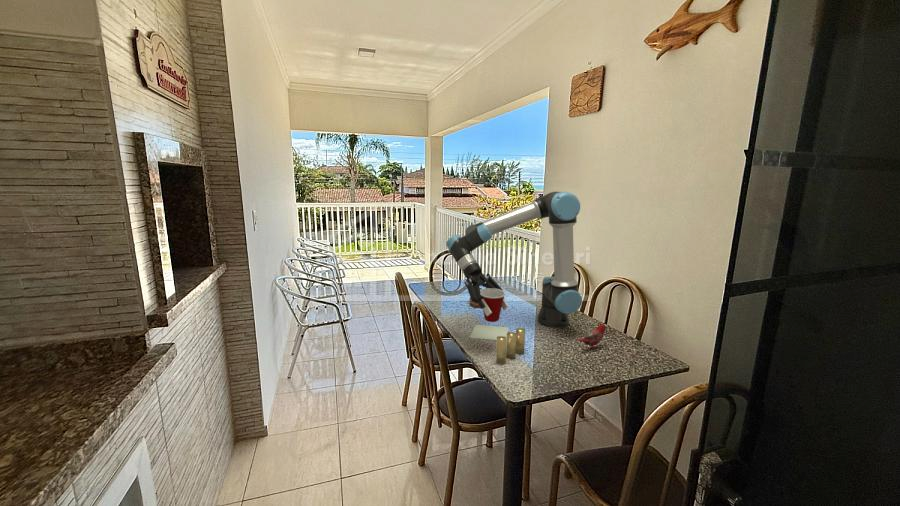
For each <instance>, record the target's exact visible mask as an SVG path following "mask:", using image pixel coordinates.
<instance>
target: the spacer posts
mask: <svg viewBox="0 0 900 506" xmlns="http://www.w3.org/2000/svg"><path fill="white" fill-rule="evenodd" d="M525 340H526V329H525V328H523V327H518V328H517V327H516V329H515V332H514V331H508V333H507V338H506V337H504V336H498V337H497V341H496V364H498V365H505V364H506V363H507V359H508V360H515V359H516V355H519V356H521V355H525V347H526V346H525V345H526V344H525V343H526V341H525Z"/></svg>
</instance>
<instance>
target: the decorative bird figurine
mask: <svg viewBox="0 0 900 506" xmlns="http://www.w3.org/2000/svg"><path fill="white" fill-rule="evenodd" d="M606 329H607V327H606V325H605V324H604V323H600V324H599V325H598V326H597V327H596V328H595V329H594V330H592V331H591V332H590V333H588V334H586V335H585V336H584V338H577V339H575V341H577V342H578V341H579V342H582V343H583V344H585V345H587V346H590V350H592V349H596V348H598V344H599V343H601V341H602V339H603V337H604V335H605V331H606Z"/></svg>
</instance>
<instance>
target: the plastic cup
mask: <svg viewBox="0 0 900 506" xmlns="http://www.w3.org/2000/svg"><path fill="white" fill-rule="evenodd" d="M481 289H482V290H481ZM481 289H480V293H481V294H480V295H481V300H482V299H484V301H485V302H486V304H487V305H488V307H489V308H490V310H491V312H492V313H491V314H490V315H489V316H487V315H486V314H485V312H484V311H483V310H482V312H483V317H484V321H486V322H489V323H495V322H498V321H499V320H500V315H501V312H502V302H503V299H505V296H506V292H505V291H504V290H503V291H502V290H500V289H493V288H486V287H485V288H481Z"/></svg>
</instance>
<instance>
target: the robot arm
mask: <svg viewBox="0 0 900 506" xmlns="http://www.w3.org/2000/svg"><path fill="white" fill-rule="evenodd" d="M580 211H581V202H580V200H579V198H578V197H577V195H576V194H574V193H572V192H568V191H552V192H549V193H546V194H545V195H542V196H540V197H538V198H535V199H532V200H531V202H530V203H528V204H526V205H523V206H520V207H518V208H514V209H513V210H509V211H507V212H504V213H502V214H499V215H496V216H494V217H491V218H489V219H486V220H483V221H481V222H477V223H475V224H470V225H467V227H466V229H465V232H464V233H465V235H463V236H460V235H459V234H454V235H453V236H451V237H450V238H448V240H447V241H446V248H447V249H448V251H449V253H450V254H451V255H452V257H453V259H454V261H455V262H456V264H457V265H458V267H459V269H460V270H461V272H462V273H463V275H464V277H465V278H466V279H465V280H464V283H463V284H464V285H465V287H466V289H467V291H468V294H469V298H470V297H471V300H472V302H475V303H476V304H477V303H478V304H479V306H480V307H481V308H480V309H481V310H482V312H483V311H484V312H485V314H486V315H487V316H489V315H490V314H491V313H492V312H491V310H490V308H489V307H488V305H487V304H486V302H485V301H484V299H482V300H481V295H480V294H481V293H480V290H481V289H480V288H481V287H484V288H485V289H486V288H493V289H500V290H502V291H504V289H503V288H502V287H501V286H500V285H499V284H498V283H497V282H496V281H495V280H494V279H493V278H492V276H491V274H490V273H489V272H487V273H486V274H484V273H483V271H482V270H483V269H482V267H481V265H480V264H479V262H477V259H476V258H475V256H474V255H473V254H472V251H474V250H476V249H477V248H479V247H480V246H482V245H483V244H485V243H488V241H490V240H491V239H492V238H493V235H495V234H498V233H501V232H504V231H507V230H509V229H512V228H514V227H517V226H520V225H523V224H526V223H527V222H530V221H531V222H532V221H533V220H536V219H537V220H542V219H545V218H548V224H549V226H551V227H552V245H553V275H554V276H546V277H544V278H542V284H541V285H542V286H541V287H542V289H541V290H542V291H541V307H540V308H539V312H538V314H537V323H538V324H540V325H542V326H545V327H551V328H565V327H568V325H569V323H570V318H569V315H571V314H573V313H576V312H577V311H578V310H579V309H581V307H582V303H583V297H582V295H581V293H580V292H579V282H578V281H577V280H576V278H575V255H574V253H575V251H574V226H575V225H576V224H577V219H578V218H577V216H578V215H579V213H580ZM508 308H509V304H508V303H507V301H506V300H505V298H504V299H503V302H502V307H501V309H502V310H503V311H505V310H506V309H508ZM484 312H483V313H484Z"/></svg>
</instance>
